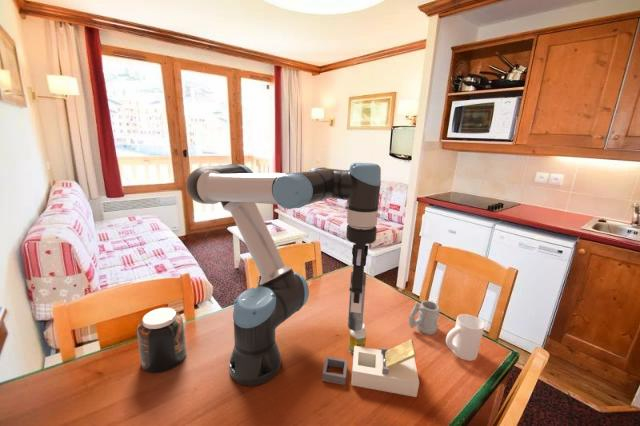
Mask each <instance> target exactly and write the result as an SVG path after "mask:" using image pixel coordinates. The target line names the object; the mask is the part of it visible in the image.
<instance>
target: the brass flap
mask: <svg viewBox="0 0 640 426" xmlns="http://www.w3.org/2000/svg"><path fill="white" fill-rule="evenodd" d="M416 356H417V355H416V350H415V346H414V341H413V339H408V340H406V341H404V342H402V343H400V344H398V345H396V346H394V347H392V348H390V349H387V351H385V352H383V366H384V367H389V368H391V367H393V366H396V365H398V364H400V363H402V362H404V361H407V360H409V359H411V358H413V357H414V358H415V357H416Z"/></svg>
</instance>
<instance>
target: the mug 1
mask: <svg viewBox="0 0 640 426" xmlns="http://www.w3.org/2000/svg"><path fill="white" fill-rule="evenodd" d="M417 314H418V316H417V319H415V317H416V315H417ZM439 317H440V306H439V305H438V304H437V303H436V302H434V301H431V300H423V301H421V303H420V304H419V302H418V301H415V302H414V306H413V308H412V310H411V312H410V314H409V315H408V324H409V326H410V328H411V329H414V328H415V327H416V329H417V330H418V331H420V333H422V334H423V333H424V334H425V335H430V336H431V335H434V334H436V332H437V331H438V328H439V326H438V322H439V321H438V320H439Z"/></svg>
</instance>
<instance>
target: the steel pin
mask: <svg viewBox="0 0 640 426" xmlns="http://www.w3.org/2000/svg"><path fill="white" fill-rule="evenodd" d="M352 280H353V271H351V272H350V284H349V285H350V287H349V289H350V288H352ZM366 284H367V273H366V272H365V271H364V272H363V282H362V289H363V291H362V305H361V313H356V312H351V297H352V291H349V303H348V318H347V320H348V321H347V327H348V329H349V330H353V331H359V330H361V329H362V325H363V323H364V310H365V309H364V308H365V296H366Z"/></svg>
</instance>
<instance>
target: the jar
mask: <svg viewBox="0 0 640 426" xmlns="http://www.w3.org/2000/svg"><path fill="white" fill-rule="evenodd" d="M136 333H137V334H136V335H137V343H138V351H139V357H140V364H141V368H142V369H143V370H144V371H145V372H147V373H152V374H158V373H164V372H167V371H170V370H172V369H174V368H175V367H177V366H179V365H180V364H181V363H182V362H183V361H184V360H185V358H186V356H187V347H186V336H185V325H184V319H183V316H182V315H181V314H180V313H179V312H176V309H174V308H173V307H159V308H155V309H153V310H151V311H149V312H147V313H146V314H145V315H144V316H143V317H142V320H141V321H140V322H139V323H138V325H137V329H136Z"/></svg>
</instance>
